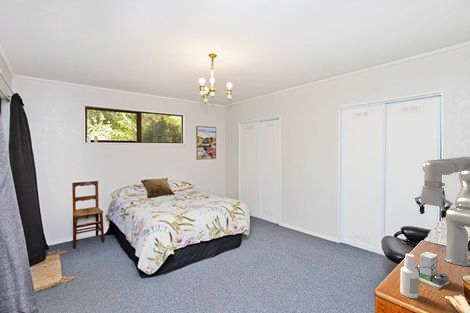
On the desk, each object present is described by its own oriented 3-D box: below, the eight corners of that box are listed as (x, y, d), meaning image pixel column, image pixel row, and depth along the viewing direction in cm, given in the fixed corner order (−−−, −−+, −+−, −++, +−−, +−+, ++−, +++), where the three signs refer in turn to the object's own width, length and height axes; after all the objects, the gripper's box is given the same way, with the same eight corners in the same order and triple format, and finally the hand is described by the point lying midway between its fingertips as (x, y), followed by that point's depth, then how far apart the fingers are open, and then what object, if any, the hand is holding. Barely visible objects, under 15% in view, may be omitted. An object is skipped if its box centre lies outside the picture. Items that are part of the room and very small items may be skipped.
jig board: (420, 270, 137) (420, 268, 137) (451, 282, 125) (451, 280, 125) (406, 276, 130) (406, 274, 130) (437, 289, 118) (437, 287, 118)
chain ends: (418, 270, 135) (418, 264, 135) (448, 281, 124) (448, 274, 124) (409, 274, 131) (409, 267, 131) (439, 285, 120) (439, 278, 119)
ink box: (430, 281, 123) (431, 258, 123) (419, 277, 127) (419, 254, 127) (438, 277, 128) (438, 254, 127) (426, 273, 132) (427, 251, 132)
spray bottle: (419, 300, 109) (419, 259, 109) (400, 295, 113) (401, 255, 112) (417, 293, 115) (418, 254, 115) (399, 288, 118) (400, 250, 118)
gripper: (455, 185, 131) (455, 218, 132) (418, 182, 146) (418, 211, 147) (449, 186, 127) (448, 220, 128) (411, 183, 143) (411, 213, 143)
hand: (432, 215), depth 137 cm, fingers open, 9 cm apart
